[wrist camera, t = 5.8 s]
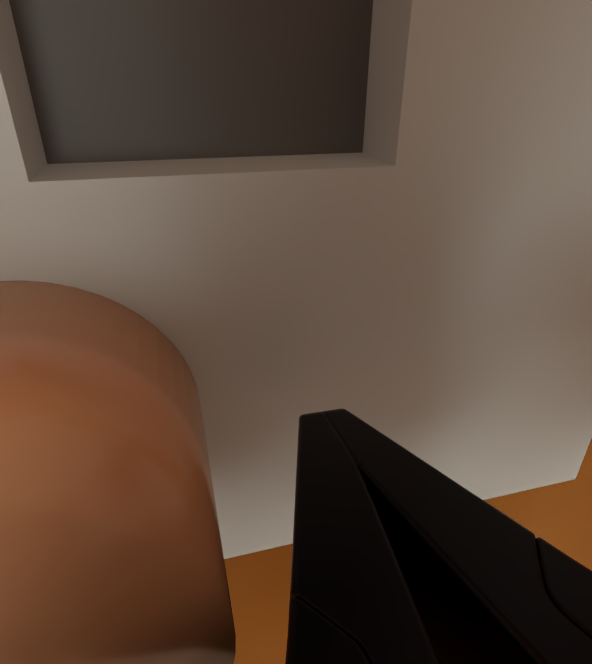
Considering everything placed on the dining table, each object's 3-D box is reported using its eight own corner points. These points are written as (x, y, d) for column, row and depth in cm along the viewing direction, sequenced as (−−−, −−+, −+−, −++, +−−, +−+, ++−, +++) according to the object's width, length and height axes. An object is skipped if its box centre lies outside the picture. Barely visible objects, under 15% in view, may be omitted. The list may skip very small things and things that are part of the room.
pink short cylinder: (212, 503, 9) (247, 747, 6) (-79, 563, 8) (-234, 903, 5) (183, 263, 7) (215, 449, 4) (-232, 302, 6) (-744, 622, 3)
